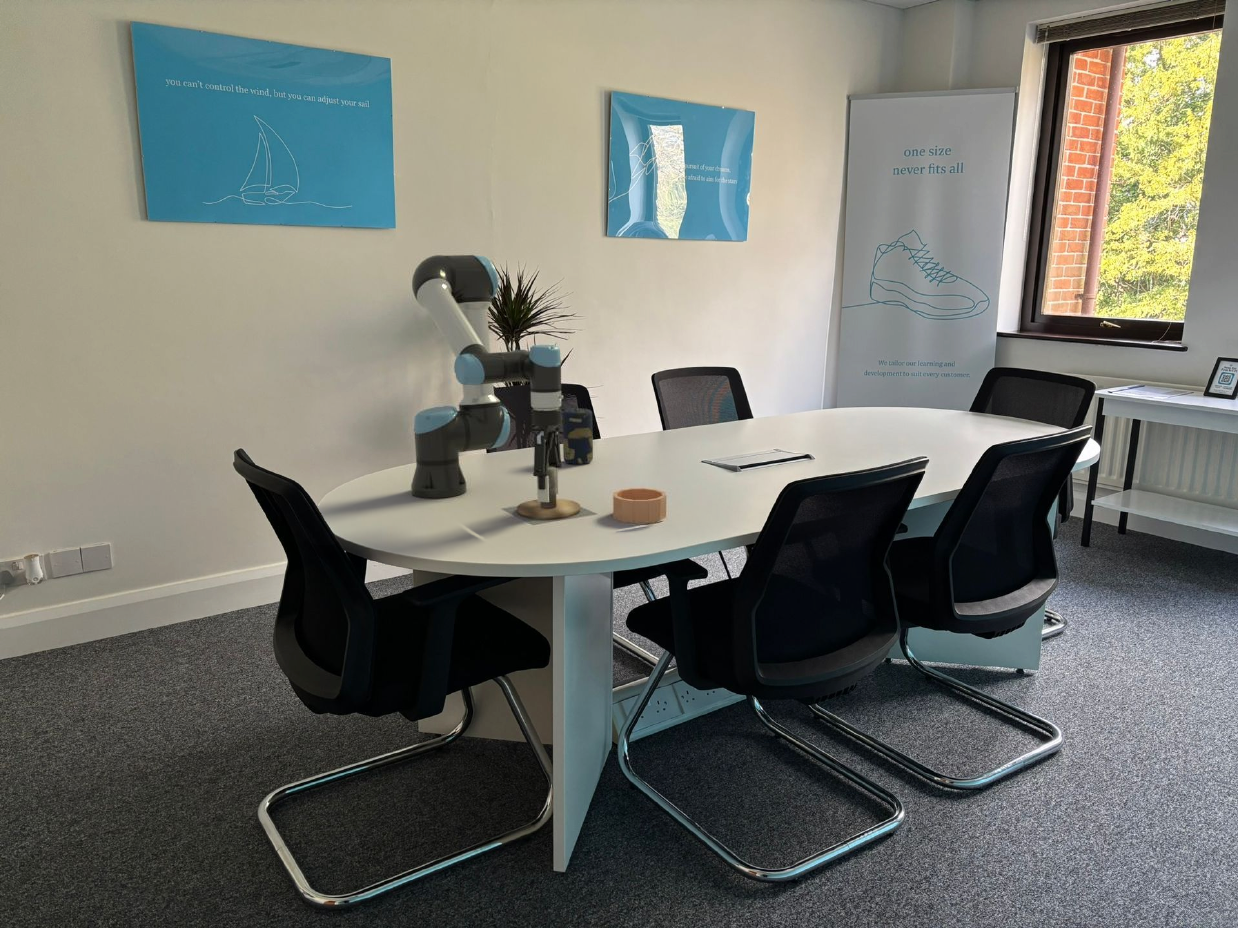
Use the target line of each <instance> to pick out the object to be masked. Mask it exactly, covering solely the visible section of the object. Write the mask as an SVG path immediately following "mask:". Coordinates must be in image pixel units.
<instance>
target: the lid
mask: <svg viewBox="0 0 1238 928" xmlns="http://www.w3.org/2000/svg"><path fill="white" fill-rule="evenodd" d="M540 471H541V470H540ZM547 476H548V481H549V502H538V499H532V500H528V501H527V500H526V501H524V502H522V503H520V504H518V505H516V506H517V514H518V515H520V516H522V517H525V518H530V519H538V520H553V519H563V518H568V517H572V516H575V515H577V514H578V513H580V507H581V504H580V503H578V502H576V501H574V500H569V499H565V498H557V494H556V468H555V467H551V466H549V465H548V469H547Z"/></svg>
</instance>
